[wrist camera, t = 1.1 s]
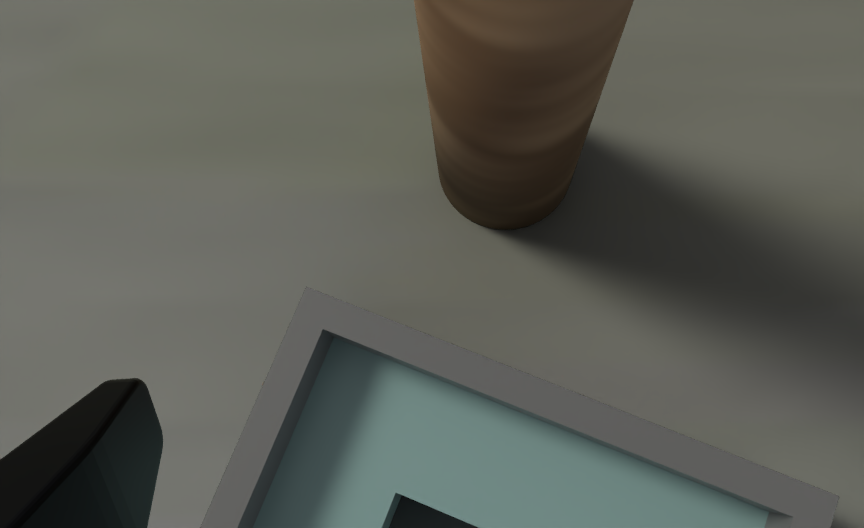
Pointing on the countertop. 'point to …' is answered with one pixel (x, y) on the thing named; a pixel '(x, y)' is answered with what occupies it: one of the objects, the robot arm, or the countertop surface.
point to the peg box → (469, 445)
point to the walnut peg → (514, 98)
